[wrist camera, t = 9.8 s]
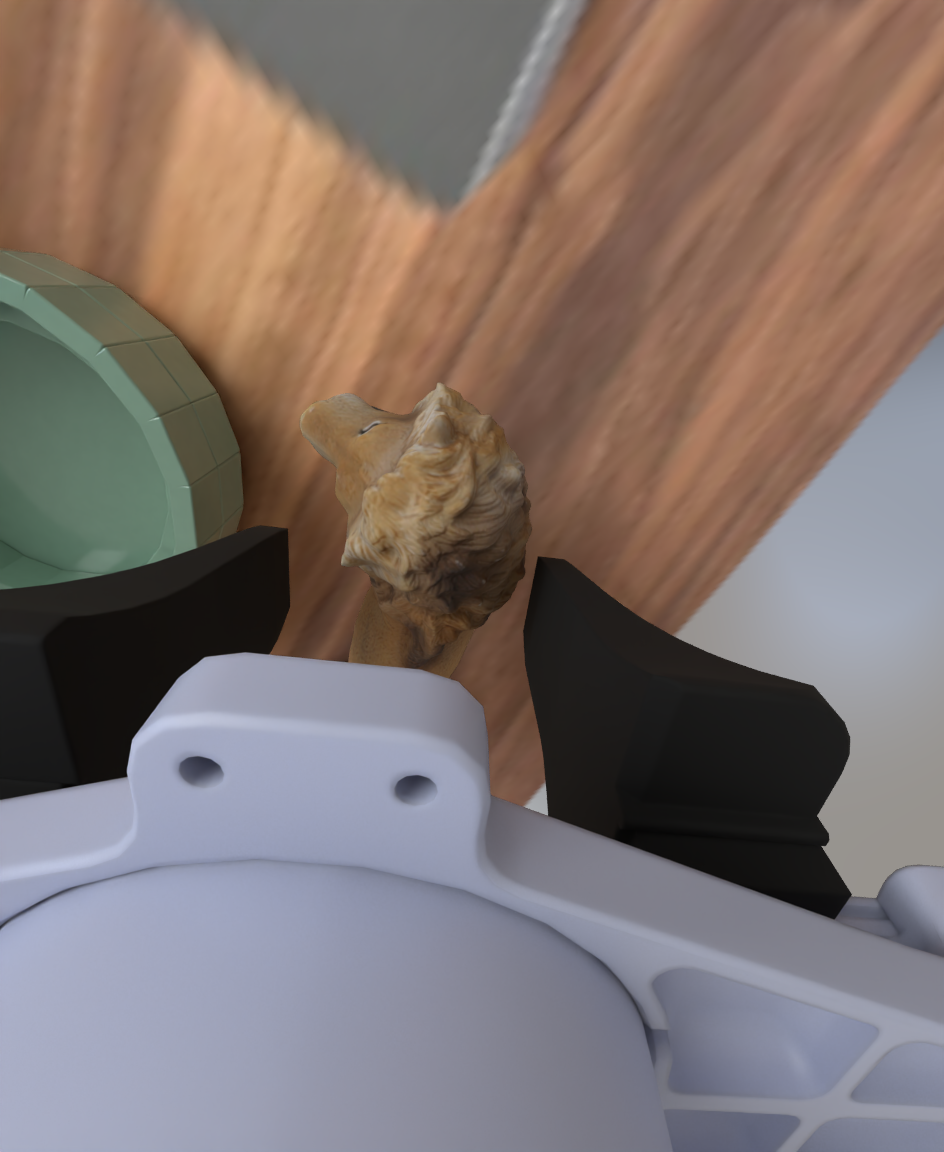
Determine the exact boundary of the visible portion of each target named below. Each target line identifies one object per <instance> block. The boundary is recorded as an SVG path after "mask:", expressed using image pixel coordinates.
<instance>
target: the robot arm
mask: <svg viewBox="0 0 944 1152" xmlns="http://www.w3.org/2000/svg"><path fill="white" fill-rule="evenodd" d="M289 608H290V585H289V549H288V529H287V528H278V527H269V526H256V527H252V528H249V529H246V530H243V531H240V532H237V533H235V534H232V535H229V536H227V537H224V538H221V539H219V540H216V541H214V542H211V543H208V544H206V545H203V546H201V547H198V548H195V549H192V550H189V551H187V552H184V553H181V554H178V555H175V556H172V557H169V558H166V559H163V560H160V561H157V562H154V563H150V564H147V565H143V566H140V567H136V568H132V569H128V570H124V571H119V572H115V573H111V574H106V575H102V576H96V577H90V578H84V579H78V580H73V581H67V582H61V583H55V584H48V585H39V586H31V587H22V588H11V589H0V1152H944V867H941V866H928V865H911V866H905V867H903V868H900V869H898V870H896V871H894V872H893V873H892V874H891V875H890V876H889V877H888V878H887V879H886V880H885V882H884V883H883V885H882V887H881V889H880V891H879V894H878V896H877V898H864V897H852V896H851V895H852V894H851V892H850V891H849V889H848V888H847V886H846V885H845V883H844V881H843V880H842V878H841V877H840V875H839V873H838V872H837V870H836V869H835V867H834V866H833V864H832V862H831V861H830V859H829V858H828V856H827V855H826V853H825V851H824V850H823V848H822V847H821V846H826V845H827V843H828V842H829V834H828V832H827V831H826V829H825V828H824V826H823V825H822V823H821V822H820V820H819V818H818V817H817V815H818V813H819V811H820V810H821V808H822V806H823V805H824V803H825V801H826V799H827V798H828V796H829V794H830V793H831V791H832V789H833V788H834V786H835V784H836V782H837V781H838V779H839V777H840V776H841V774H842V772H843V770H844V767H845V765H846V762H847V760H848V757H849V754H850V736H849V733H848V731H847V728H846V725H845V722H844V721H843V720H842V719H841V718H840V717H839V715H838V714H837V713H836V712H835V711H834V709H833V708H832V707H831V706H830V705H829V703H828V702H827V701H826V700H825V699H824V698H823V696H822V695H821V694H820V693H819V692H818V691H817V689H816V688H815V687H814V686H812V685H808V684H805V683H801V682H798V681H794V680H790V679H787V678H783V677H779V676H775V675H771V674H768V673H764V672H761V671H758V670H755V669H752V668H749V667H746V666H743V665H740V664H737V663H735V662H731V661H729V660H726V659H723V658H721V657H718V656H716V655H713V654H711V653H708V652H706V651H704V650H702V649H699V648H697V647H695V646H693V645H691V644H688V643H686V642H684V641H682V640H679V639H678V638H676V637H674V636H672V635H670V634H668V633H666V632H665V631H663V630H661V629H659V628H658V627H656V626H654V625H652V624H651V623H649V622H647V621H645V620H644V619H642V618H641V617H639V616H638V615H636V614H635V613H633V612H632V611H630V610H629V609H627V608H626V607H625V606H623V605H622V604H620V603H619V602H618V601H616V600H615V599H614V598H612V597H611V596H610V595H608V594H607V593H606V592H605V591H603V590H602V589H601V588H600V587H598V586H597V585H596V584H595V583H594V582H592V581H591V580H590V579H589V578H588V577H586V576H585V575H584V574H583V573H582V572H580V571H579V570H578V569H577V568H575V567H574V566H573V565H572V564H570V563H569V562H567V561H566V560H564V559H555V558H546V557H538V559H537V564H536V569H535V574H534V579H533V584H532V589H531V595H530V600H529V605H528V610H527V615H526V620H525V625H524V630H523V633H524V653H525V666H526V671H527V676H528V681H529V686H530V691H531V695H532V700H533V705H534V710H535V714H536V719H537V724H538V728H539V733H540V738H541V744H542V750H543V757H544V768H545V780H546V791H547V804H548V816H547V815H544V814H541V813H539V812H536V811H533V810H530V809H528V808H525V807H522V806H519V805H517V804H514V803H511V802H508V801H506V800H503V799H500V798H497V797H495V796H492V795H491V794H490V773H489V749H488V733H487V727H486V721H485V715H484V709H483V706H482V705H481V704H480V703H479V702H478V701H477V700H476V699H475V698H474V697H473V696H472V695H471V694H470V693H469V692H468V691H467V690H466V689H465V688H464V687H463V686H462V685H461V684H460V683H459V682H458V681H455V680H451V679H448V678H445V677H442V676H439V675H436V674H433V673H430V672H427V671H423V670H420V669H410V668H399V667H389V666H379V665H369V664H359V663H348V662H338V661H328V660H318V659H308V658H297V657H287V656H277V655H269V654H270V652H271V651H272V649H273V647H274V645H275V643H276V642H277V640H278V637H279V635H280V632H281V630H282V627H283V625H284V622H285V619H286V616H287V614H288V611H289Z"/></svg>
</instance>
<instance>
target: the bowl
mask: <svg viewBox="0 0 944 1152" xmlns="http://www.w3.org/2000/svg"><path fill="white" fill-rule="evenodd" d="M239 451H240V449H239V446H238V443H237V441H236V438H235V436H234V433H233V430H232V428H231V425H230V423H229V420H228V417H227V415H226V412H225V410H224V407H223V404H222V402H221V399H220V397H219V394H218V393H216V390H215V388H214V387H213V385H212V384H211V383H210V381H209V380H208V379H207V377H206V376H205V374H204V373H203V372H202V370H201V369H200V368H199V366H198V365H197V364H196V362H195V361H194V359H193V358H192V357H191V355H190V354H189V353H188V351H187V350H186V349H185V347H184V346H183V344H182V343H181V342H180V340H179V339H178V338H177V337H176V336H175V335H174V333H172V332H171V331H170V330H169V329H168V328H166V327H165V326H164V325H163V324H162V323H160V322H159V321H158V320H157V319H156V318H154V317H153V316H152V315H151V314H150V313H148V312H147V311H146V310H145V309H144V308H142V307H141V306H140V305H139V304H137V303H136V302H135V301H134V300H133V299H131V298H130V297H129V296H128V295H127V294H125V293H124V292H123V291H122V290H121V289H119V288H116V286H115V285H113V284H111V283H109V282H107V281H104V280H102V279H100V278H98V277H96V276H94V275H91V274H89V273H87V272H85V271H83V270H81V269H79V268H76V267H74V266H72V265H70V264H68V263H66V262H63V261H61V260H59V259H57V258H55V257H53V256H49V255H47V254H43V253H36V252H28V251H21V250H14V249H7V248H0V589H11V588H22V587H31V586H39V585H48V584H55V583H61V582H67V581H73V580H78V579H84V578H90V577H96V576H102V575H106V574H111V573H115V572H119V571H124V570H128V569H132V568H136V567H140V566H143V565H147V564H150V563H154V562H157V561H160V560H163V559H166V558H169V557H172V556H175V555H178V554H181V553H184V552H187V551H189V550H192V549H195V548H198V547H201V546H203V545H206V544H208V543H211V542H214V541H216V540H219V539H221V538H224V537H227V536H229V535H232V534H235V533H236V531H237V527H238V524H239V521H240V517H241V514H242V511H243V503H244V502H243V487H242V471H241V456H240V452H239Z"/></svg>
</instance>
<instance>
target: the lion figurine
mask: <svg viewBox="0 0 944 1152" xmlns="http://www.w3.org/2000/svg"><path fill="white" fill-rule="evenodd" d="M300 429H301V431H302V434H303V436H304V437H305V438H306V439H307V440H309V441H310V442H311V444H312V445H313V447H314V448H315V449H316V451H317V452H318V453H319V454H320V455H321V456H322V457H324V458H325V459H327V460H328V461H330V462H331V463H332V464H333V465H334V466H335V467H336V469H337V472H336V485H335V493H336V496H337V498H338V500H339V501H340V503H341V504H342V506H343V507H344V509H345V510H346V512H347V513H348V523H347V541H346V545H345V552H344V554H343V556H342V560H341V565H342V566H347V567H352V566H359V567H360V568H361V569H362V570H364V571H365V572H366V573H367V574H368V575H369V577H370V580H371V584H372V586H371V587H370V589H369V590H368V592H367V594H366V596H365V598H364V601H363V603H362V606H361V608H360V611H359V614H358V616H357V619H356V622H355V627H354V632H353V638H352V643H351V648H350V654H349V661H348V663H359V664H369V665H379V666H389V667H399V668H410V669H420V670H423V671H427V672H430V673H433V674H436V675H439V676H442V677H445V678H448V679H449V677H450V676H451V674H452V673H453V671H454V670H455V668H456V666H457V665H458V663H459V661H460V659H461V657H462V655H463V653H464V651H465V649H466V647H467V645H468V642H469V640H470V638H471V636H472V634H473V632H474V629H476V628H478V627H480V626H482V625H483V624H484V623H485V622H486V621H487V619H488V617H489V616H490V614H491V613H492V612H494V611H496V610H498V609H500V608H501V607H502V606H503V605H504V604H505V603H506V602H507V601H508V600H509V599H510V598H511V595H512V592H513V591H514V590H515V588H516V585H517V582H518V581H519V580H521V579H522V578H523V577H524V575H525V568H524V564H525V554H526V550H525V547H526V543H527V541H528V538H529V536H530V534H531V531H532V526H531V523H530V519H529V510H530V507H531V504H530V500H529V499H528V498H527V497H526V492H527V489H528V485H527V482H526V478H525V476H524V473H525V469H524V465H523V464H522V463H521V462H520V461H519V460H518V456H517V455H516V453H515V452H514V451H513V450H512V449H510V447H509V446H508V444H507V442H506V439H505V435H504V429H503V428H501V427H500V426H498V425H497V424H496V422H495V421H494V420H493V419H492V417H491V415H481V414H480V412H479V411H478V410H477V408H475V407H474V406H473V405H472V404H470V403H469V402H467V401H465V400H464V399H463V398H462V396H461V394H460V393H459V392H457V391H455V390H453V389H451V388H448V387H446V386H445V385H444V384H442V383H437V386H436V390H433V391H432V392H430V393H429V394H428V395H427V396H426V397H425V398H424V399H423V400H422V401H420V402H419V403H417V404H416V406H415V407H414V409H413V411H412V413H410V414H408V415H398V414H394V413H390V412H387V411H383V410H381V409H378V408H376V407H373V406H369V405H368V404H367V403H366V402H365V401H364V400H362V399H361V398H360V397H358V396H356V395H354V394H349V393H345V394H340V395H337V396H334V397H332V398H330V399H328V400H325V401H317V402H314V403H313V404H312V405H311V406H309V407H308V408H307V409H306V410H305V411H304V412H303V414H302V415H301V418H300Z"/></svg>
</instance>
